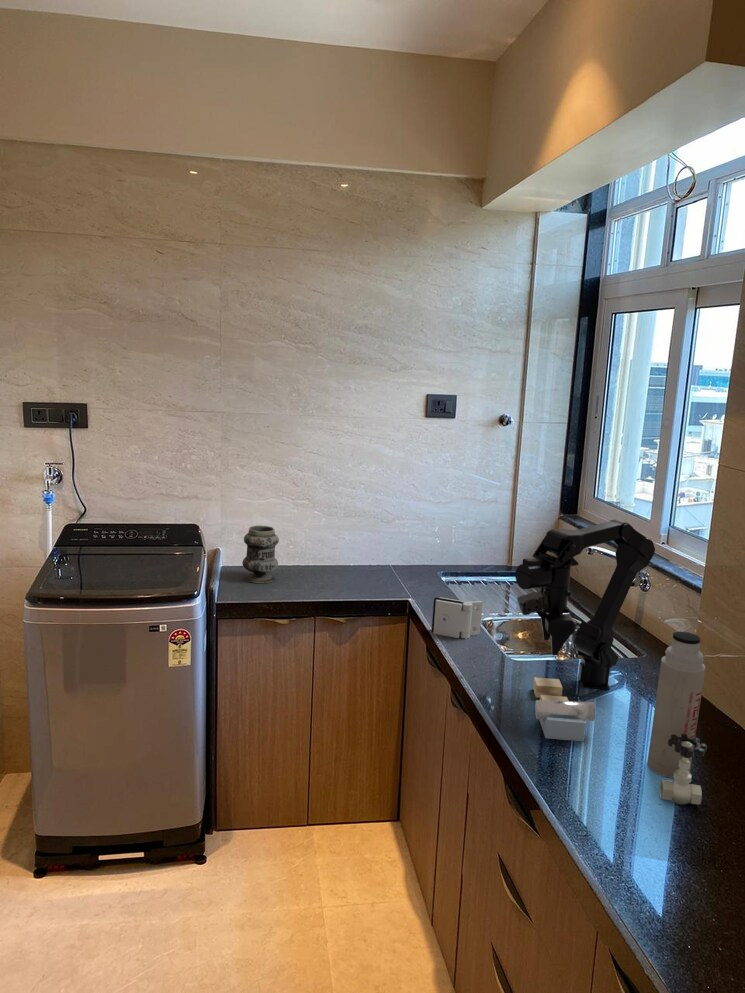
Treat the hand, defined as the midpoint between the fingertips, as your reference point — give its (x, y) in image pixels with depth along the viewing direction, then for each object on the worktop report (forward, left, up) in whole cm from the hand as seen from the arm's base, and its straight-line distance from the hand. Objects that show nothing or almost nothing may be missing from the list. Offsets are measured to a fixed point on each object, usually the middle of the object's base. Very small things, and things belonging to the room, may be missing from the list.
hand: (550, 647), depth 177 cm
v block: (0, +18, -12) cm, 21 cm away
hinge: (+20, -35, -12) cm, 42 cm away
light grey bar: (-1, +18, -9) cm, 20 cm away
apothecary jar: (+85, -73, -12) cm, 113 cm away
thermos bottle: (-19, +30, -12) cm, 38 cm away
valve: (-17, +42, -12) cm, 47 cm away
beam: (0, +5, -12) cm, 13 cm away
